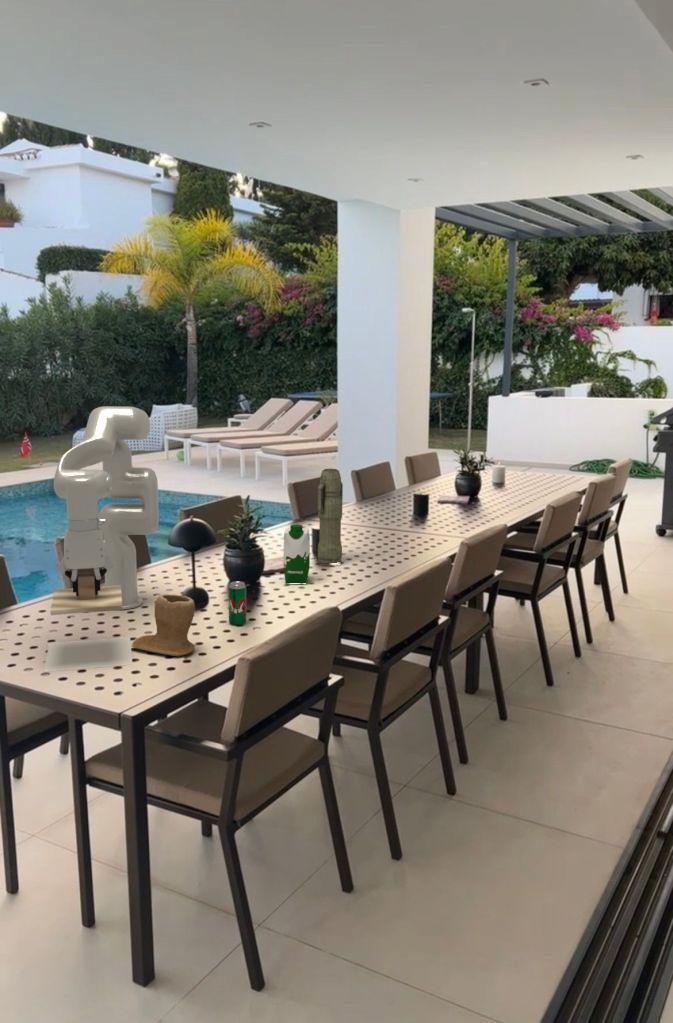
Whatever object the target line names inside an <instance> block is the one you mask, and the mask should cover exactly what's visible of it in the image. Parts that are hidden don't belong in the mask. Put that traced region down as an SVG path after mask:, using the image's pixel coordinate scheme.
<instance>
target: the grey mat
mask: <svg viewBox="0 0 673 1023" xmlns="http://www.w3.org/2000/svg"><path fill="white" fill-rule="evenodd" d="M131 643H132V642H131V636H122V637H121V636H119V637H110V638H96V639H95V638H94V639H83V640H82V639H81V640H80V639H79V640H69V641H68V640H67V641H56V642H55V641H54V642H48V648H47V652H46V658H45V664H44V669H43V672H44V673H47V672H59V671H68V670H69V671H71V670H83V669H94V668H95V669H96V668H108V667H119V666H132V665H133V655H132V654H133V653H132V644H131Z"/></svg>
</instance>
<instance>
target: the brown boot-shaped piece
mask: <svg viewBox="0 0 673 1023" xmlns="http://www.w3.org/2000/svg"><path fill="white" fill-rule="evenodd" d="M195 603H196V602H195V601H194V599H192V598H191V597H189V596H184V595H180V594H171V593H167V594H166V593H165V594H160V595H158V597H157V598H156V599H155V603H154V619H155V624H156V633H155V634H151V635H150V634H146V635H142V636H140V637H138V638H136V639H135V640H134V641H133V642H131V643H132V644H131V648H134V649H138V650H142V651H146V652H150V653H154V654H155V653H156V654H159V655H160V654H161V655H165V656H174V657H175V656H176V657H181V656H185V655H189V654H190V653H191V652H193V651H194V650H195V648H196V645H195V644H194V643H193V642H191V641H189V639H188V634H189V630H190V628H191V625H192V623H193V620H194V616H195V611H196V604H195Z"/></svg>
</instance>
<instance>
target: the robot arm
mask: <svg viewBox="0 0 673 1023" xmlns="http://www.w3.org/2000/svg"><path fill="white" fill-rule="evenodd" d="M150 430H151V421H150V418H149V415H148V414H147V413H146V411H144V410H142V409H140V408H138V407H134V406H112V405H111V406H109V405H107V406H99V407H97V408H94V409H93V410H92V411H91V413H89V417H88V420H87V424H86V427H85V430H84V436H83V439H82V441H81V442H79V443H77V444H76V445H74V446H73V447H71V448H70V449H69V450H68V451H66V452H65V453H63V455H62V456H61V457H60V459H59V460H58V464H57V467H56V470H55V473H54V476H53V477H54V478H53V490H54V493H55V495H57V497H59V498H60V499H65V500H66V503H65V504H66V518H67V528H66V529H65V531H64V537H63V557H62V559H61V561H60V562H59V564H58V566H56V571H57V572H60V573H61V574H63V575H65V576H66V577H67V578H68V579H69V580H71V581H72V588H73V592H76V596H79V592H78V571H79V570H93V572H94V575H95V580H94V581H95V595H98V591H101V589H100V587H101V579H102V578H103V577H104V582H105V583H104V585H105V586H117V585H121V594H122V610H121V611H123V610H130V609H135V608H138V607H140V606H142V605H143V604H144V600H143V598H142V597H141V596H139V595H138V576H137V575H138V572H137V549H136V546H135V544H134V541H132V539H131V538H130V537H129V536H130V535H134V536H135V535H136V536H137V535H139V536H140V535H141V536H142V535H143V536H144V535H145V536H147V535H153V534H156V532H157V531H158V529H159V523H160V522H159V521H160V520H159V518H160V516H159V514H160V513H159V512H160V510H159V486H158V485H159V484H158V477H157V474H156V471H154V470H153V469H152V468H150V467H136V466H135V467H134V466H133V463H132V462H133V461H132V460H133V459H132V454H133V453H132V450H131V447H130V446H129V445H128V443H127V442H126V440H127V441H128V440H133V441H135V440H136V441H137V440H138V441H143V440H146V439H147V437H148V436H149V434H150ZM100 463H102V470H101V469H85V468H87V467H91V466H93V465H96V464H97V465H98V464H100ZM106 497H108V498H110V499H115V500H117V499H120V500H140V501H141V502H142V503H141V502H139V503H134V502H133V503H132V502H127V503H126V502H115V503H112V502H111V503H108V504H105V505H103V507H101V509H100V510H99V502H98V501H99V500H103V499H105V498H106Z"/></svg>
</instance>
